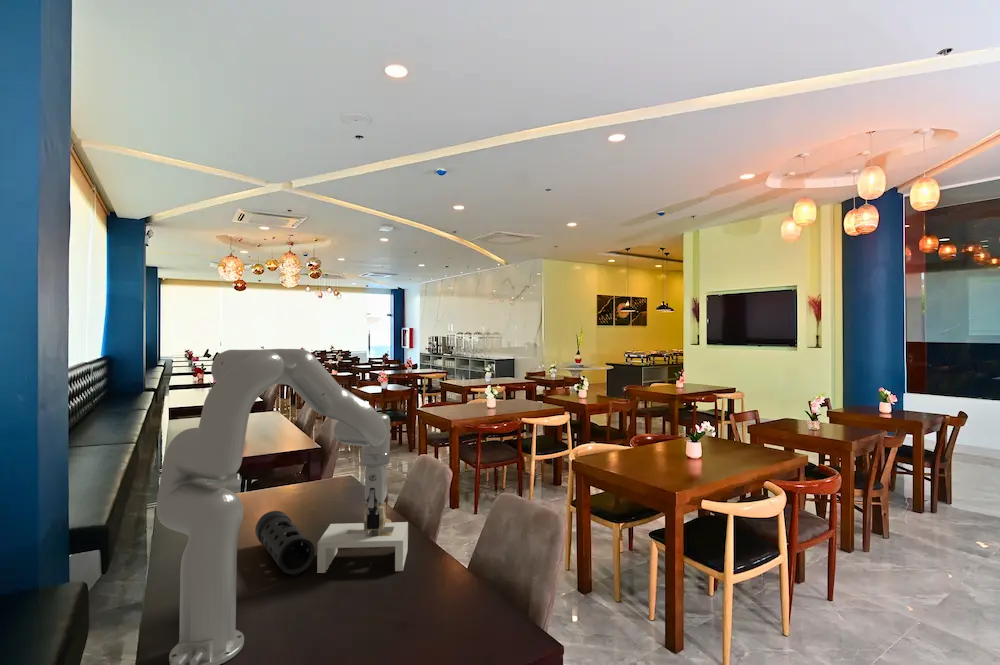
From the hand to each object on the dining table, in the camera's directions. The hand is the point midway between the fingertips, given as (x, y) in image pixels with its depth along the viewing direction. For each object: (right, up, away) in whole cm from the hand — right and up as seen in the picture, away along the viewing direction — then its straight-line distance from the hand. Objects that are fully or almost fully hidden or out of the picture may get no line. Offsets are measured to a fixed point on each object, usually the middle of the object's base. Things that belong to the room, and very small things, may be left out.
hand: (374, 524), depth 141 cm
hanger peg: (0, -6, 0) cm, 6 cm away
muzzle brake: (-26, -10, +1) cm, 28 cm away
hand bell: (-1, -11, +16) cm, 19 cm away
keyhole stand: (-3, -10, 0) cm, 10 cm away
